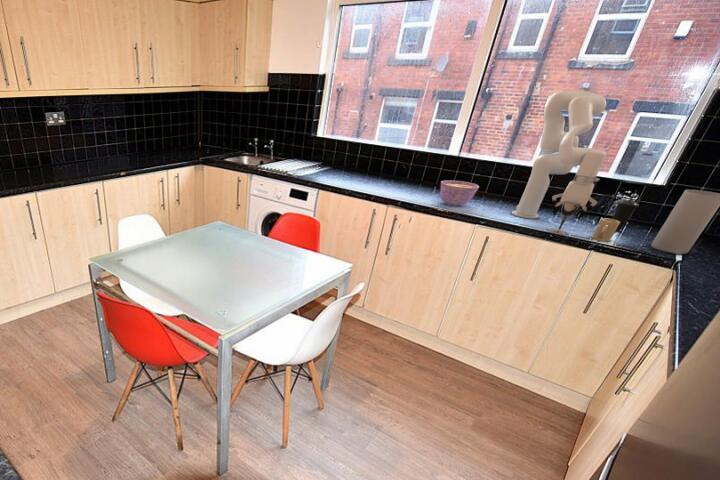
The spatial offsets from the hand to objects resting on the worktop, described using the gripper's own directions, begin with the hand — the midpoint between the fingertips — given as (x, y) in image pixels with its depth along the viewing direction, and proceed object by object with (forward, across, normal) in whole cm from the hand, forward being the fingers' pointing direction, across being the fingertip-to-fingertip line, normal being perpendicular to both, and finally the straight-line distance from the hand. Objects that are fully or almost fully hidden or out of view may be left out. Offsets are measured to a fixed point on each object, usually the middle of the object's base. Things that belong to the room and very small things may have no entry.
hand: (566, 216), depth 204 cm
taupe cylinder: (+8, -41, -7) cm, 42 cm away
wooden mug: (+8, -16, -2) cm, 18 cm away
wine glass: (+8, 0, 0) cm, 8 cm away
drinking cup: (+8, -21, -27) cm, 35 cm away
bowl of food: (+7, +54, -21) cm, 58 cm away
